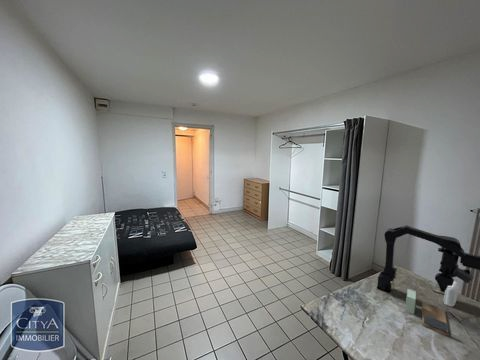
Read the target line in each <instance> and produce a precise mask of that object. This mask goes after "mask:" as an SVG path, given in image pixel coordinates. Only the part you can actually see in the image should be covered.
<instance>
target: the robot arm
mask: <svg viewBox="0 0 480 360" xmlns="http://www.w3.org/2000/svg"><path fill="white" fill-rule="evenodd" d="M404 235H411V236H412V237H417V238H419V239H422V240H424V241H428V242H430V243H434V244H435V245H438V246H439V247H438V249H437V251H438V252H440V253H442V255H441V260H440V263H439V264H440V267H439V269H438V272H437V273H436V274H435V277H434V279H435V281H436V282H437V285H438V287H439V289H440V292H442V293H445V290H446V288H447V287H448V286H452V285H453V283H454V281H455V279H454V278H458V279H460V280H462V281H463V282H464V283H466V284H469V283H471V282H472V280H473V278H474V276H473V274H471V273H472V272H471V270H470V269H473V270H475V271H476V270H477V271H480V255H475V254H472V253H467V252H465V250H464V249H463V247H462V244H461V241H460V239H457V238H456V237H452V236H447V235H440V234H439V235H438V234H435V233H432V232H429V231H428V232H427V231H425V230H423V229H422V230H421V229H419V228H415V227H413V226H410V225H403V226H398V227H395V228H388V229H386V231H385V232H384V240H385V244H386V248H385V250H386V251H385V264H384V265H385V266H384V268H383V270H382V271H380V272H379V275H378V276H377V284H376V285H377V286H376V289H377V290H380V291H382V292H385V293H388V294H390V293H391V291H392V285H393V283H392V282H394V280H395V279H397V275H398V273H397V270H398V267H397V268H396V267H395V266H394V262H395V245H396V242H397V239H398V238H400V237H402V236H404ZM458 262H459V263H460V264H461V265H462V266H463V267H467V268H464V269H463V268H460V267H459V265H458V264H459V263H458ZM468 268H469V269H468Z"/></svg>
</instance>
